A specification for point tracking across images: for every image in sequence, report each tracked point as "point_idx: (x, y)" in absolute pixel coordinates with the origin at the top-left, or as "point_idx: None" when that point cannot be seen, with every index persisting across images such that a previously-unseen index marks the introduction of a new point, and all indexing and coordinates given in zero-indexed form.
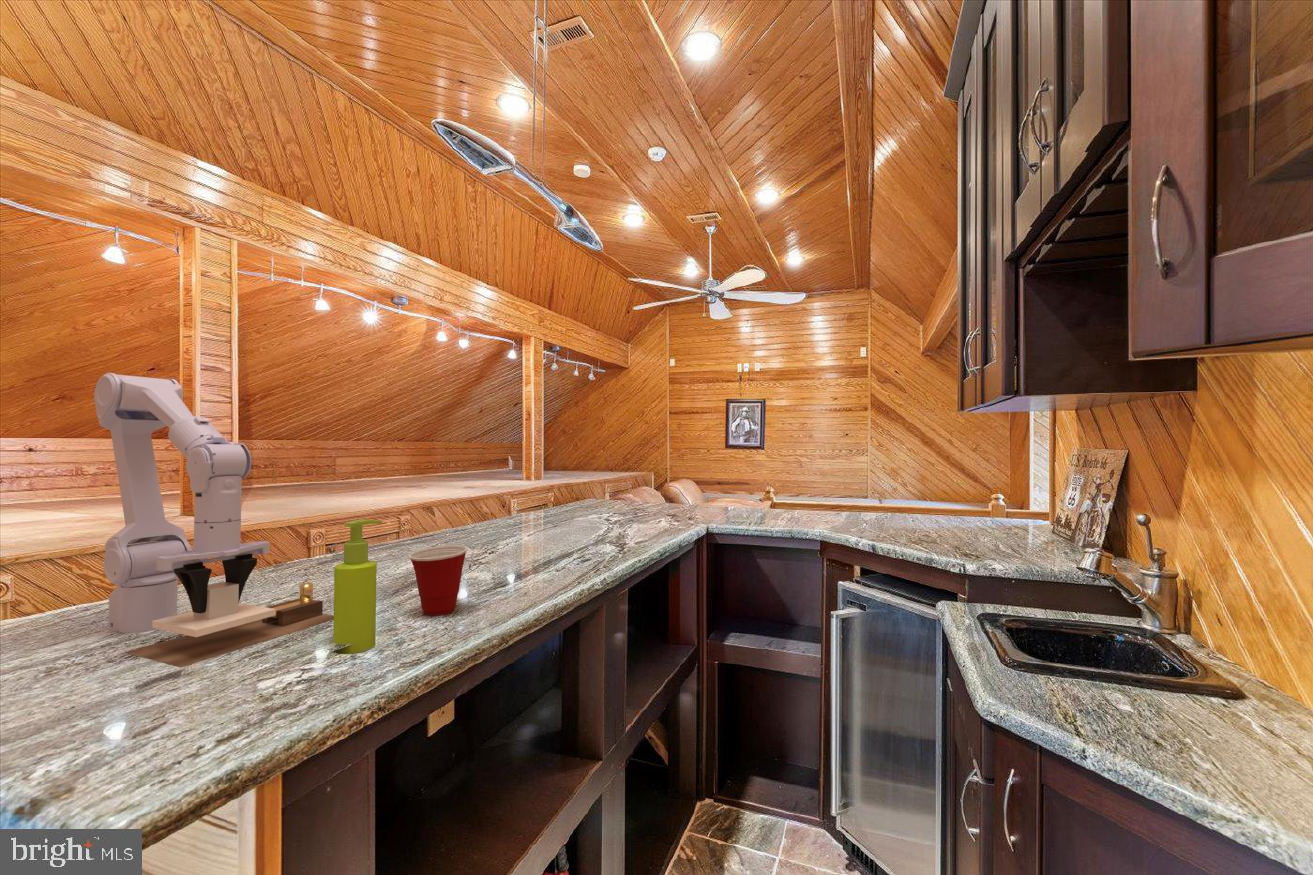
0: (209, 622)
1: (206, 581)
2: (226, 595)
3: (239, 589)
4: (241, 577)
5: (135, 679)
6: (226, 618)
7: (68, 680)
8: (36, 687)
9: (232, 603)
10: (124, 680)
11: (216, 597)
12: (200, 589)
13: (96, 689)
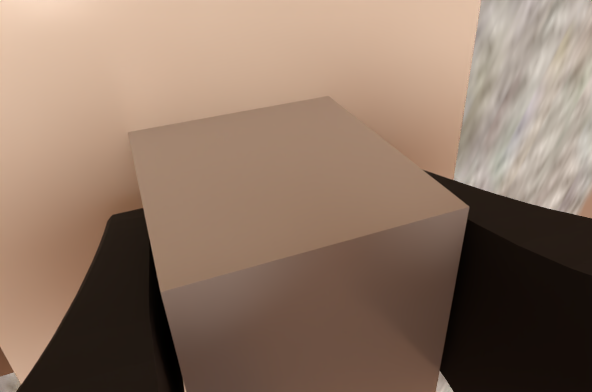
0: (358, 27)
1: (584, 261)
2: (269, 196)
3: (125, 276)
4: (124, 382)
5: (485, 12)
6: (252, 29)
7: (523, 182)
8: (564, 186)
9: (192, 159)
10: (498, 37)
11: (359, 174)
12: (548, 216)
13: (561, 22)
